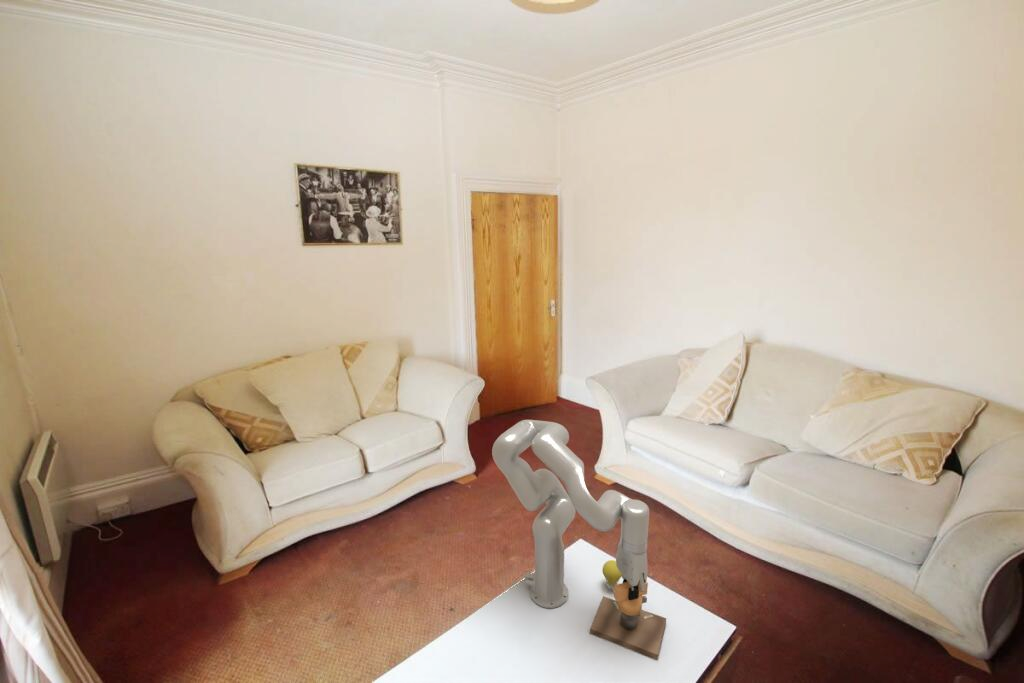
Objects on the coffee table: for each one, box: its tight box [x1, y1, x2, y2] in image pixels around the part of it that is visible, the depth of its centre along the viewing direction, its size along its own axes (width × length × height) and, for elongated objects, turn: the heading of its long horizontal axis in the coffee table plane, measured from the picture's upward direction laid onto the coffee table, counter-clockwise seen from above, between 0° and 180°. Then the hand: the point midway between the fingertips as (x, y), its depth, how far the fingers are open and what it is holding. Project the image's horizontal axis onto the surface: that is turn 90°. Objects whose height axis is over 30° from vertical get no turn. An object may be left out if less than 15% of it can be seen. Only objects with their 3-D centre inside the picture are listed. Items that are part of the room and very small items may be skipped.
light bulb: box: [602, 559, 622, 591], centre depth 159 cm, size 7×7×10 cm
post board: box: [589, 595, 667, 661], centre depth 143 cm, size 20×14×8 cm
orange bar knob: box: [613, 580, 649, 616], centre depth 141 cm, size 11×7×8 cm, turn 108°
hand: (630, 594), depth 141 cm, fingers closed on orange bar knob, 2 cm apart
